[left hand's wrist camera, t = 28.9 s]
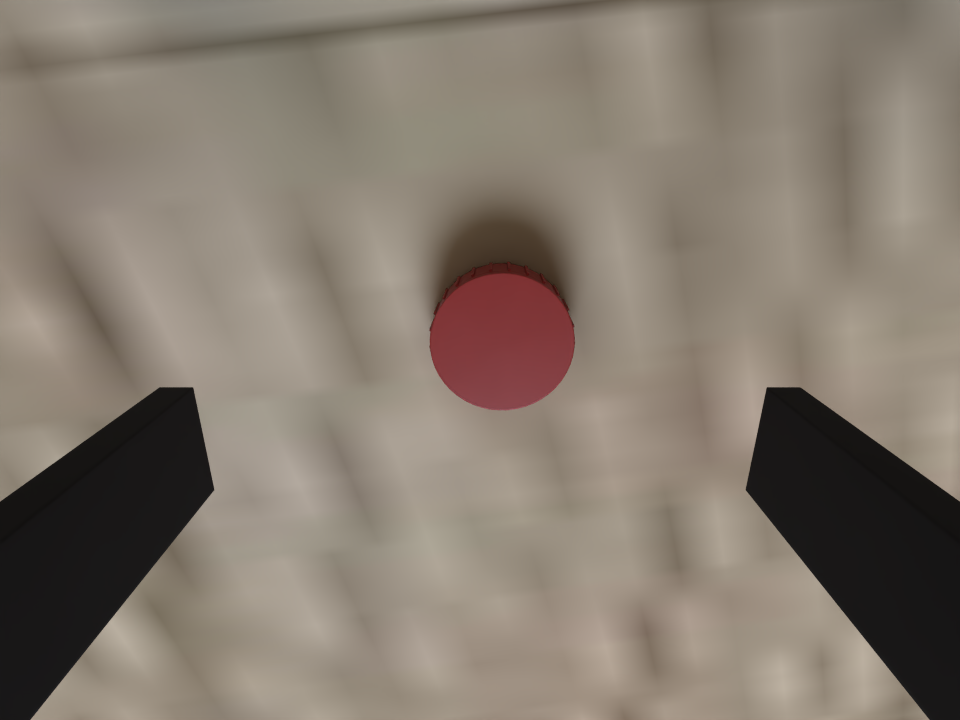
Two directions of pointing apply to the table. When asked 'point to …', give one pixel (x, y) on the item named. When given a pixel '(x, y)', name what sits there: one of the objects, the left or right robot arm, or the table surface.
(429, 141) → the table surface
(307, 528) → the table surface
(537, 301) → the lid
